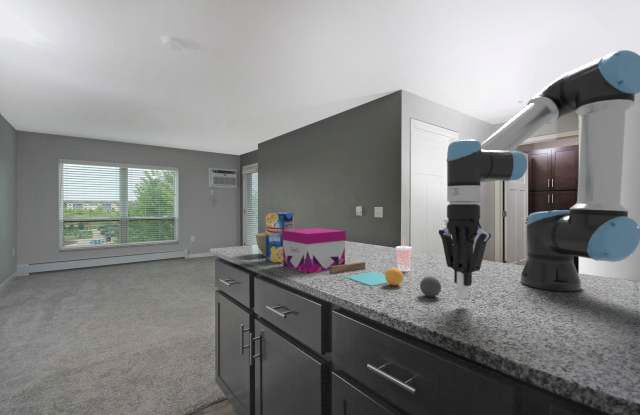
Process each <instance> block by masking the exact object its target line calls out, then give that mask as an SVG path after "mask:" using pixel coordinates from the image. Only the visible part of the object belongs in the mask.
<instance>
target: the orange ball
mask: <svg viewBox="0 0 640 415" xmlns="http://www.w3.org/2000/svg"><path fill="white" fill-rule="evenodd" d="M384 274H385V278H386V281H387V282H388V283H387V284H389V285H391V286H394V287H395V286H399V285H400V284H401V283H403V280H404V274H403V271H400V270H399V269H398V267H391V268H389V269H387V271H386V272H385V273H384Z"/></svg>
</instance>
